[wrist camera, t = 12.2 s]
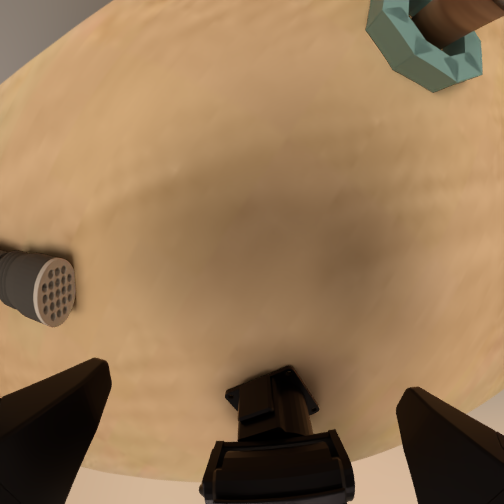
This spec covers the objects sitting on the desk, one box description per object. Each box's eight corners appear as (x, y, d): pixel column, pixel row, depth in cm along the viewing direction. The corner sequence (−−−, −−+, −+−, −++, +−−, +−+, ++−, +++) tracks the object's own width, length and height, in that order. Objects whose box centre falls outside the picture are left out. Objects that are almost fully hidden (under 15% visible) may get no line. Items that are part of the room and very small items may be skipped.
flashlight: (-15, 277, 20) (-45, 292, 15) (-19, 230, 19) (-53, 241, 14) (78, 310, 21) (44, 339, 16) (74, 251, 20) (33, 270, 14)
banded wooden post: (440, 54, 15) (541, 6, 2) (415, 60, 15) (523, 1, 3) (418, 21, 14) (504, -42, 1) (391, 25, 15) (479, -53, 2)
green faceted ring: (473, 78, 15) (496, 70, 12) (410, 101, 16) (435, 91, 13) (419, -5, 13) (436, -20, 10) (345, 5, 14) (358, -17, 11)
